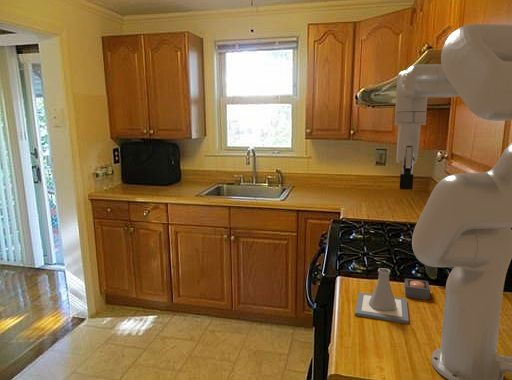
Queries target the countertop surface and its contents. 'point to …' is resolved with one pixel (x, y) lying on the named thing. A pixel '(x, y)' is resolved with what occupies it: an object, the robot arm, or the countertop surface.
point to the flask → (383, 292)
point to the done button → (417, 284)
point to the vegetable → (431, 271)
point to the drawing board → (391, 315)
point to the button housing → (417, 290)
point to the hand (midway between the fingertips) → (405, 188)
